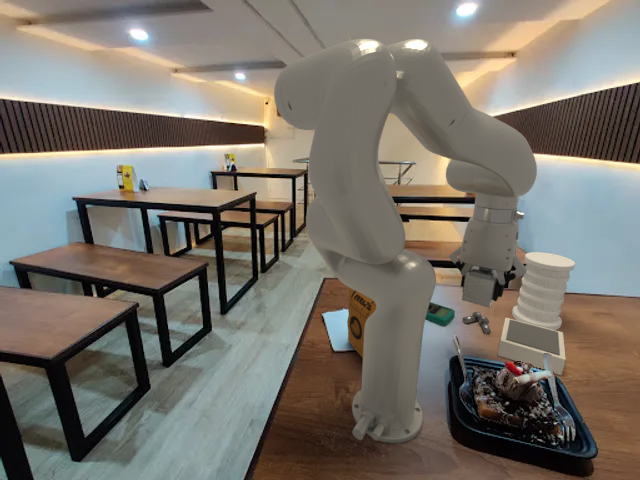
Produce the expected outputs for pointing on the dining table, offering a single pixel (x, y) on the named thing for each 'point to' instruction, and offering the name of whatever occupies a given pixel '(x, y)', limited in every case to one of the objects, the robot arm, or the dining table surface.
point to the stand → (532, 344)
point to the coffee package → (358, 318)
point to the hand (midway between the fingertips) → (480, 293)
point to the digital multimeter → (439, 314)
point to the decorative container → (543, 289)
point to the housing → (480, 286)
